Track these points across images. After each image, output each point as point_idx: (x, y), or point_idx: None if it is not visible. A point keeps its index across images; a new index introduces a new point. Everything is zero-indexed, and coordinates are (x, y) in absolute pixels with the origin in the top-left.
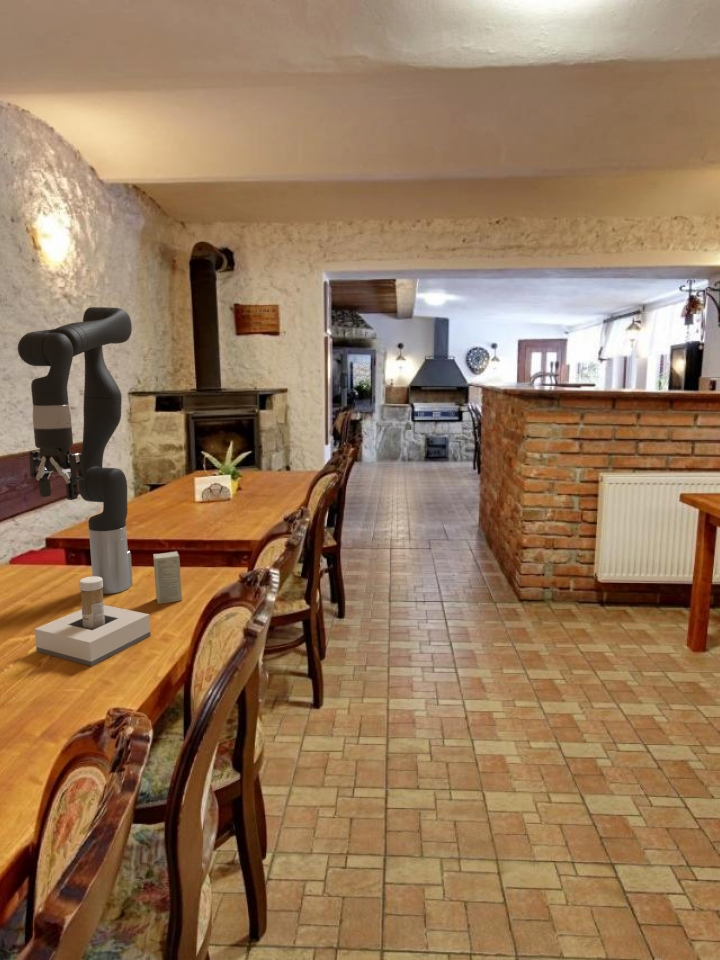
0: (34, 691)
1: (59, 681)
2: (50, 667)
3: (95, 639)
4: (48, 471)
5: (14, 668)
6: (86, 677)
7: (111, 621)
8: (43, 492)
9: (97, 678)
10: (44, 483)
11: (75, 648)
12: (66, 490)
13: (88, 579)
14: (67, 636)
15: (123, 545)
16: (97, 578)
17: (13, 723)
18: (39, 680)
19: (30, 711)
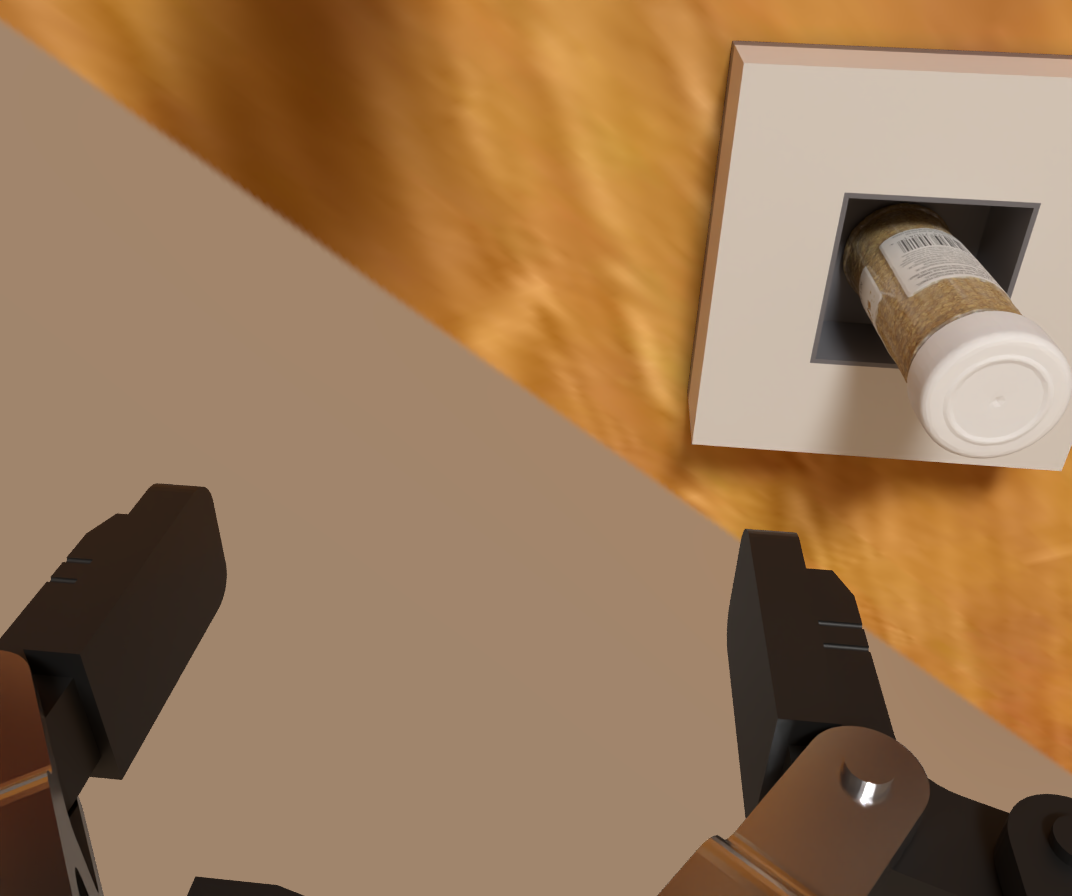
0: (929, 591)
1: (969, 527)
2: (855, 466)
3: (1067, 440)
4: (86, 880)
5: (726, 509)
6: (1055, 480)
7: (1023, 255)
8: (200, 619)
9: None
10: (129, 698)
11: None
12: (737, 742)
13: (981, 408)
14: (909, 455)
15: None
16: (1033, 373)
17: (1000, 710)
18: (889, 541)
19: (1005, 665)
